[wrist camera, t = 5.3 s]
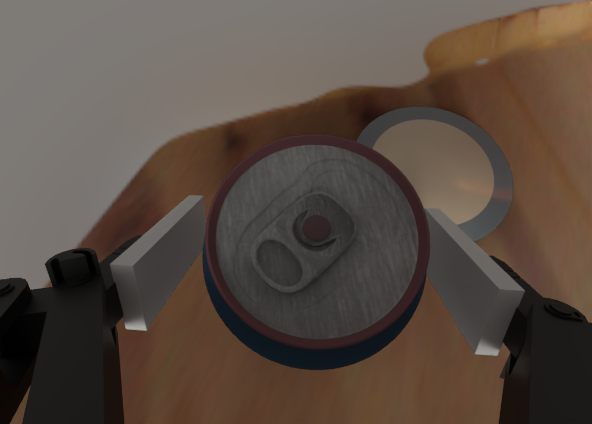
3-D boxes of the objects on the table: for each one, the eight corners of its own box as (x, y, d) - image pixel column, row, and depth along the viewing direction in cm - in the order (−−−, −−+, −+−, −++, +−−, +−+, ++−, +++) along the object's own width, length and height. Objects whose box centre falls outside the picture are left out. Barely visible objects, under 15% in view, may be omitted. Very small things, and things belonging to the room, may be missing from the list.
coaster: (464, 106, 24) (472, 95, 22) (530, 233, 20) (545, 227, 18) (332, 129, 23) (333, 118, 22) (372, 265, 19) (377, 261, 18)
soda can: (308, 215, 20) (318, 78, 9) (384, 290, 18) (513, 231, 7) (230, 285, 19) (126, 220, 8) (305, 375, 17) (314, 468, 6)
